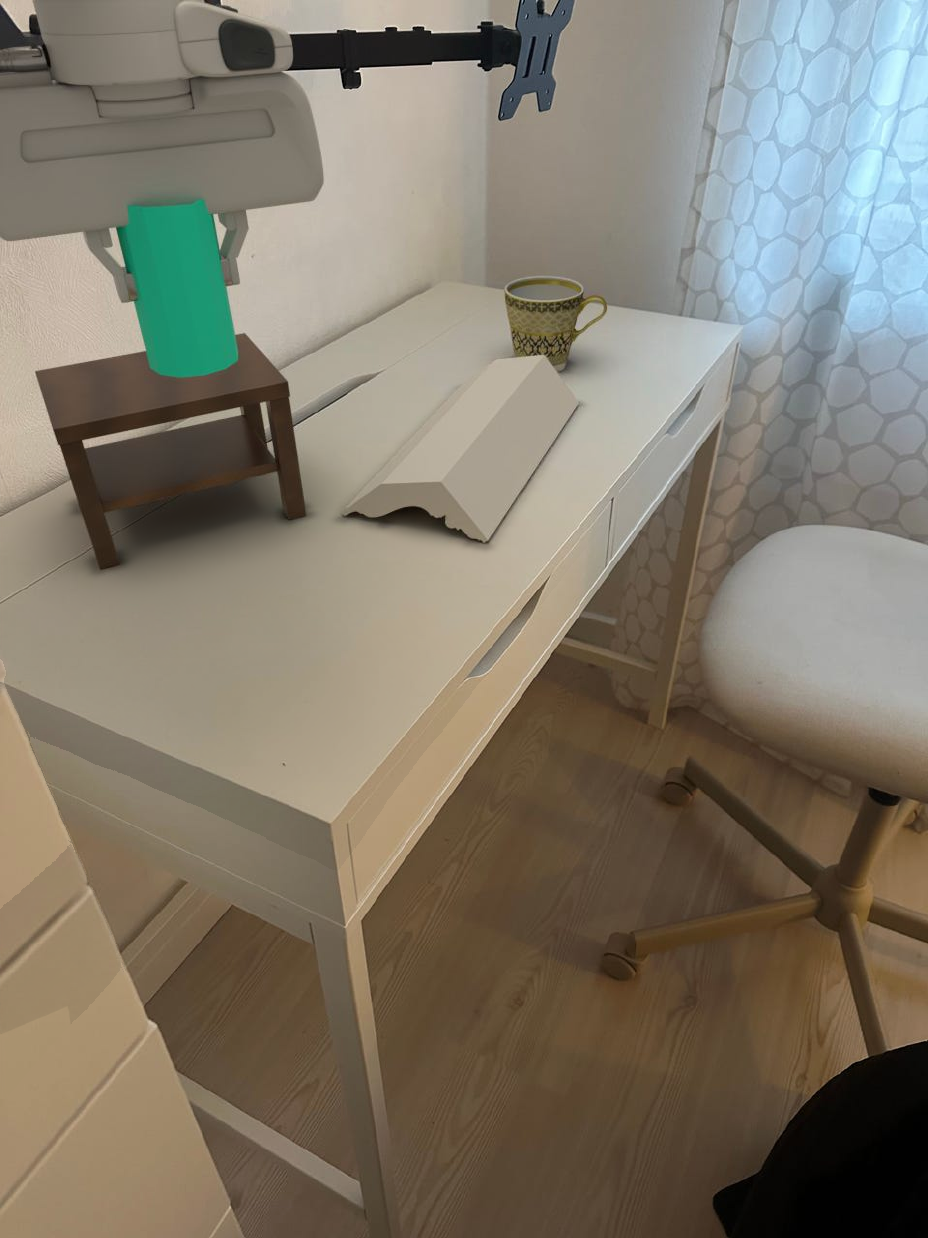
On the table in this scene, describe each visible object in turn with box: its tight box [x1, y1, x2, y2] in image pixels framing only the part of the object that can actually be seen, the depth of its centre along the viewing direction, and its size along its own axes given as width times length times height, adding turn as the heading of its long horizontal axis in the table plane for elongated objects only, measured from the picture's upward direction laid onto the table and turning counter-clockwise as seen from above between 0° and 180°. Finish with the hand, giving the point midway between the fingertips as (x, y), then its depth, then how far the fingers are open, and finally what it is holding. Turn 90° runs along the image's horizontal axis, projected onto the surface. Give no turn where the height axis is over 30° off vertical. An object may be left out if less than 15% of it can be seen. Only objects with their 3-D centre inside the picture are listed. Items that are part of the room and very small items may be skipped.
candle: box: [115, 199, 238, 378], centre depth 57 cm, size 6×6×12 cm
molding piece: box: [341, 355, 580, 544], centre depth 98 cm, size 32×12×10 cm
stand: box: [34, 332, 307, 570], centre depth 86 cm, size 20×14×14 cm
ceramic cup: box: [503, 275, 608, 373], centre depth 114 cm, size 13×10×10 cm
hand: (180, 291), depth 58 cm, fingers closed on candle, 5 cm apart
